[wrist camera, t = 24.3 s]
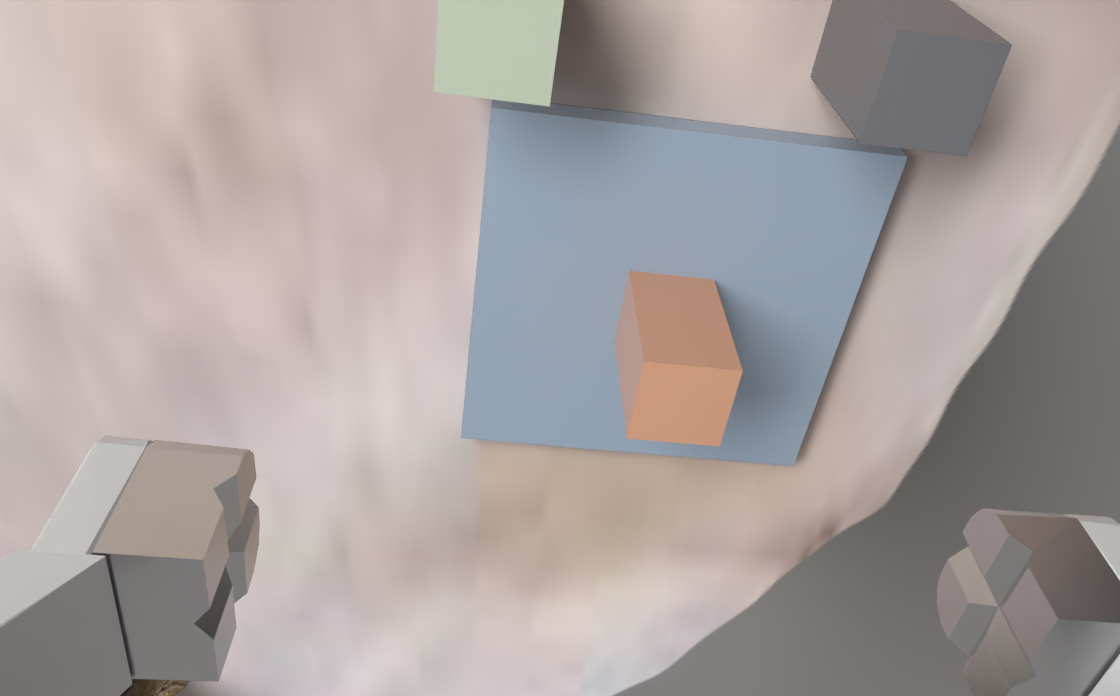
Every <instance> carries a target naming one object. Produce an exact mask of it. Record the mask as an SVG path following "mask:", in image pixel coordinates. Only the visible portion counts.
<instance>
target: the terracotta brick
mask: <svg viewBox="0 0 1120 696" xmlns="http://www.w3.org/2000/svg"><path fill="white" fill-rule="evenodd" d="M614 343H615V351H616V359H617V367H618V374H619V382H620V390H621V398H622V406H623V413H624V421H625V429H626V437H627V439H638V440H650V441H661V442H673V443H684V444H696V445H708V446H719V447H720V444H721V441H722V438H723V434H724V431H725V428H726V424H727V421H728V418H729V415H730V411H731V408H732V405H733V402H734V398H735V395H736V392H737V388H738V385H739V382H740V379H741V375H742V372H743V370H742V367H741V364H740V360H739V357H738V354H737V351H736V348H735V344H734V341H733V338H732V335H731V332H730V329H729V325H728V322H727V319H726V316H725V313H724V309H723V306H722V303H721V300H720V297H719V294H718V290H717V287H716V284H715V281H714V279H705V278H695V277H686V276H676V275H666V274H657V273H647V272H637V271H629V272H628V277H627V282H626V287H625V292H624V297H623V302H622V307H621V312H620V317H619V322H618V327H617V332H616V336H615V341H614Z"/></svg>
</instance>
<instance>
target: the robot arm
mask: <svg viewBox="0 0 1120 696" xmlns="http://www.w3.org/2000/svg"><path fill="white" fill-rule="evenodd" d="M255 480H256V470H255V461H254V454H253V453H252V452H251V451H250V450H247V449H238V448H228V447H219V446H209V445H199V444H190V443H180V442H170V441H161V440H154V441H149V440H141V439H131V438H122V437H113V436H104V437H103V438H102V439H100V440H99V441H97V442H96V443H95V444H94V445H93V446H92V448H91V449H90V451H89V453H88V454H87V456H86V458H85V459H84V461H83V463H82V464H81V466H80V468H79V469H78V471H77V473H76V474H75V476H74V478H73V479H72V481H71V483H70V485H69V486H68V488H67V490H66V491H65V493H64V495H63V496H62V498H61V500H60V501H59V503H58V505H57V506H56V508H55V510H54V511H53V513H52V515H51V516H50V518H49V520H48V521H47V523H46V525H45V526H44V528H43V530H42V531H41V533H40V535H39V537H38V538H37V540H36V542H35V543H34V545H33V547H32V548H31V550H13V551H11V552H10V553H8V554H6V555H5V556H3V557H1V558H0V696H120V695H121V694H122V693H123V692H124V691H125V690H126V689H127V688H129V687H130V686H131V685H132V679H156V680H190V681H219V679H220V676H221V673H222V670H223V667H224V664H225V660H226V657H227V654H228V651H229V648H230V645H231V642H232V639H233V636H234V633H235V630H236V619H235V608H234V603H235V602H236V601H238V600H239V599H240V598H242V597H243V596H244V595H245V594H247V592H248V589H249V586H250V582H251V579H252V576H253V572H254V568H255V562H256V556H257V551H258V545H259V526H260V523H259V507H258V506H257V505H256V504H255V503H254V502H253V501H252V500H251V499H250V498H249V497H250V494H251V491H252V488H253V485H254V483H255ZM963 535H964V537H965V540H966V543H967V545H968V547H966V548H965V549H963V550H962V551H960V552H958V553H957V554H955V555H954V556H952V557H951V558H949V559H948V560H947V562H946V565H945V567H944V569H943V571H942V573H941V575H940V577H939V579H938V591H937V607H938V612H939V617H940V621H941V623H942V626H943V628H944V630H945V633H946V635H947V638H948V640H949V641H951V642H952V643H953V644H954V645H955V646H956V647H958V648H959V649H960V650H961V651H962V652H963V653H964V654H966V655H967V656H968V660H967V663H966V666H965V669H964V672H963V674H964V676H965V678H966V680H967V683H968V685H969V687H970V689H971V691H972V694H973V696H1120V524H1119V523H1117V522H1116V521H1114V520H1113V519H1111V518H1109V517H1100V516H1086V515H1071V514H1066V515H1060V514H1049V513H1036V512H1022V511H1007V510H994V509H981V510H980V511H978V512H977V513H976V514H974V515H973V516H972V517H971V518H970V520H969V522H968V524H967V525H966V527H965V529H964V531H963Z"/></svg>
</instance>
